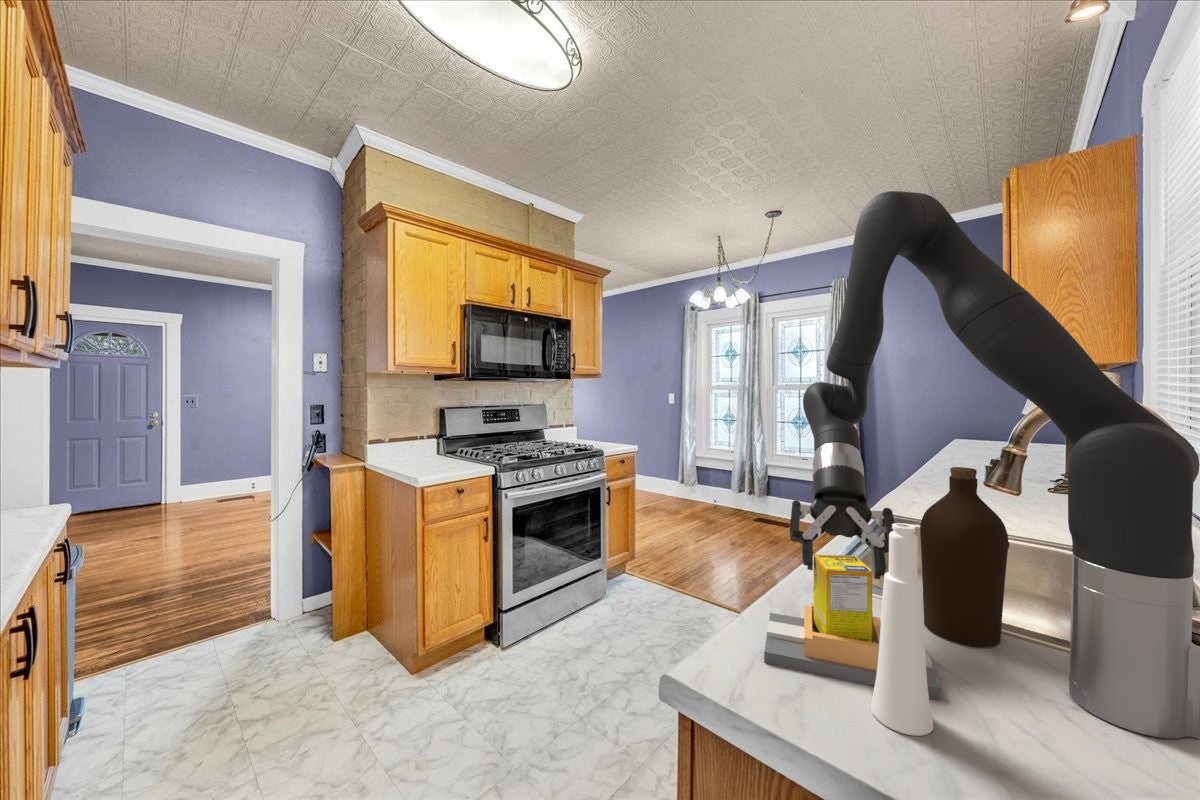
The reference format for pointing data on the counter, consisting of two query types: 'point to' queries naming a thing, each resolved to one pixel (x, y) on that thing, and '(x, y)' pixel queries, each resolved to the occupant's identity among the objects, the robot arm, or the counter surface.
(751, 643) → the counter surface
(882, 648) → the cosmetic bottle
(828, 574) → the supplement box
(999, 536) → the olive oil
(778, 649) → the rail mount
